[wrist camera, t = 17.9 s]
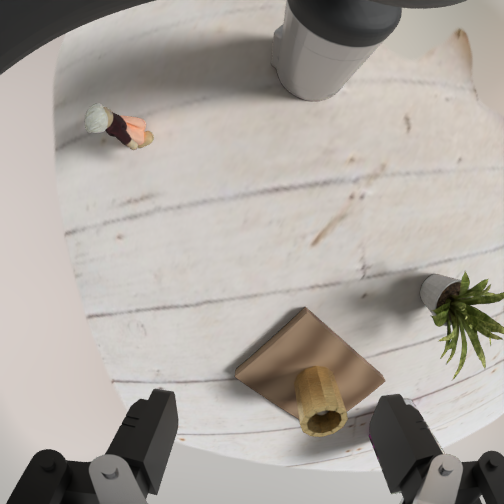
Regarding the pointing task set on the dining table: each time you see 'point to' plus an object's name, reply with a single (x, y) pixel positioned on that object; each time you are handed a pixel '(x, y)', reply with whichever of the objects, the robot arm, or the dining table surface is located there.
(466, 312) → the house plant
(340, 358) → the post plate
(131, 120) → the grandmother figurine
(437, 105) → the dining table surface
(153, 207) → the dining table surface
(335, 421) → the brass sleeve
